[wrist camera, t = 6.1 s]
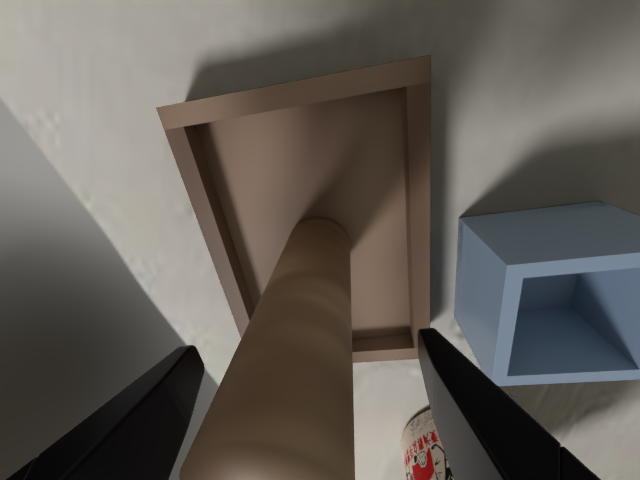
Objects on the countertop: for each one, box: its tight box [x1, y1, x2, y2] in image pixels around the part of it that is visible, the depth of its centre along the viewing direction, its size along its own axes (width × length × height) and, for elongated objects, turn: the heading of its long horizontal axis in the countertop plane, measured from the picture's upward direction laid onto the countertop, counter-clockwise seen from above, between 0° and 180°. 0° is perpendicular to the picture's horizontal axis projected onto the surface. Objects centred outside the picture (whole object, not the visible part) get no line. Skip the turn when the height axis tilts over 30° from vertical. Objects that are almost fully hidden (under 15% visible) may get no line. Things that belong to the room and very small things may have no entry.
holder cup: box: [454, 201, 640, 386], centre depth 13 cm, size 6×6×4 cm
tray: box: [156, 55, 431, 363], centre depth 14 cm, size 10×14×2 cm
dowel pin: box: [179, 217, 355, 480], centre depth 9 cm, size 3×3×10 cm
